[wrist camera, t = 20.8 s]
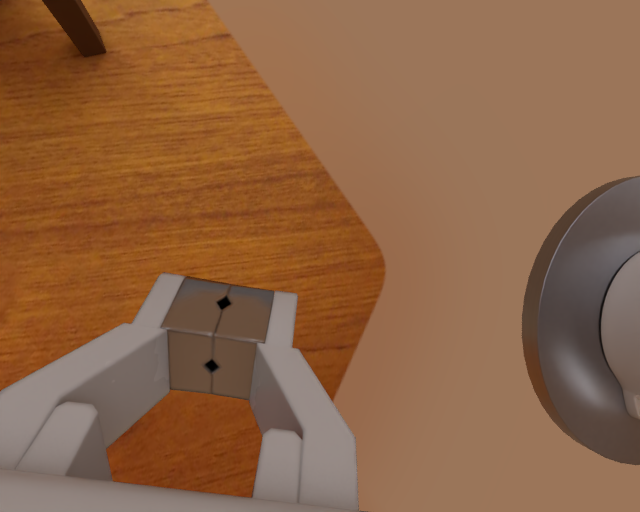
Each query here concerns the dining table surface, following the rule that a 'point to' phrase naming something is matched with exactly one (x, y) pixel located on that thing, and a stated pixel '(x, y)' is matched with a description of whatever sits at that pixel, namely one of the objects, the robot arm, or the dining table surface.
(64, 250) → the dining table surface
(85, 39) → the side table
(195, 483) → the dining table surface
